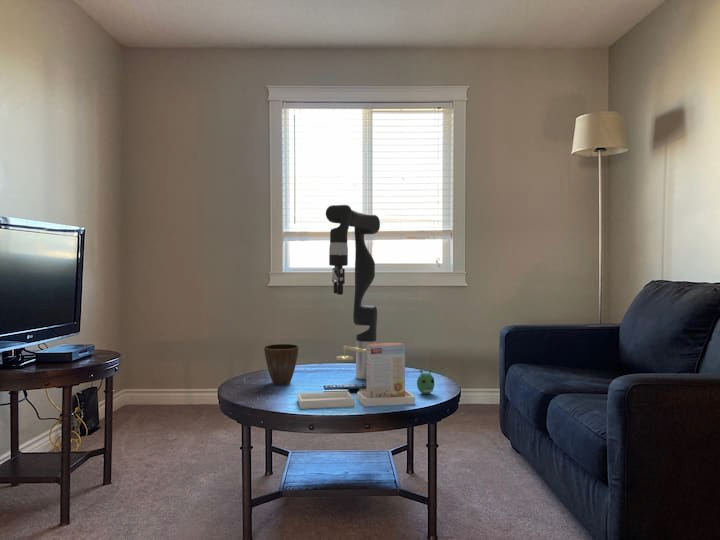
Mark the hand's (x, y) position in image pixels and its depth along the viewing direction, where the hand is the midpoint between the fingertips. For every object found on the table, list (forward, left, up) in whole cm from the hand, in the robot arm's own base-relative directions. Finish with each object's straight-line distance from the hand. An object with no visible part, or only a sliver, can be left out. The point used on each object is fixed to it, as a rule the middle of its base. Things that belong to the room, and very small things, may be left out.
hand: (338, 293), depth 211 cm
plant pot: (-19, -21, -40) cm, 49 cm away
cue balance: (+6, +12, -40) cm, 42 cm away
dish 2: (+18, +16, -40) cm, 46 cm away
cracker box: (+17, +16, -39) cm, 46 cm away
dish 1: (+17, -7, -40) cm, 44 cm away
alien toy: (+10, +35, -40) cm, 54 cm away
